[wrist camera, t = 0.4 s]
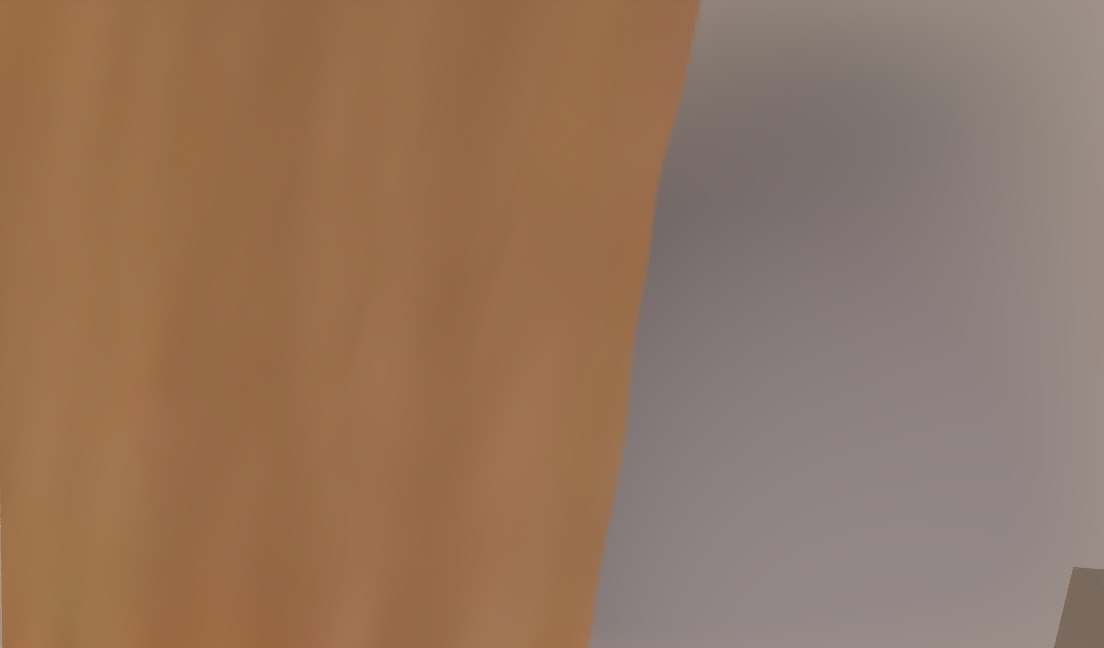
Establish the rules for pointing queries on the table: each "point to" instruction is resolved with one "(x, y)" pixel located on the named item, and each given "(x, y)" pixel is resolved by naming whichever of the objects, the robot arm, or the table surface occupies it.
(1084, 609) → the robot arm
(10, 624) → the table surface
